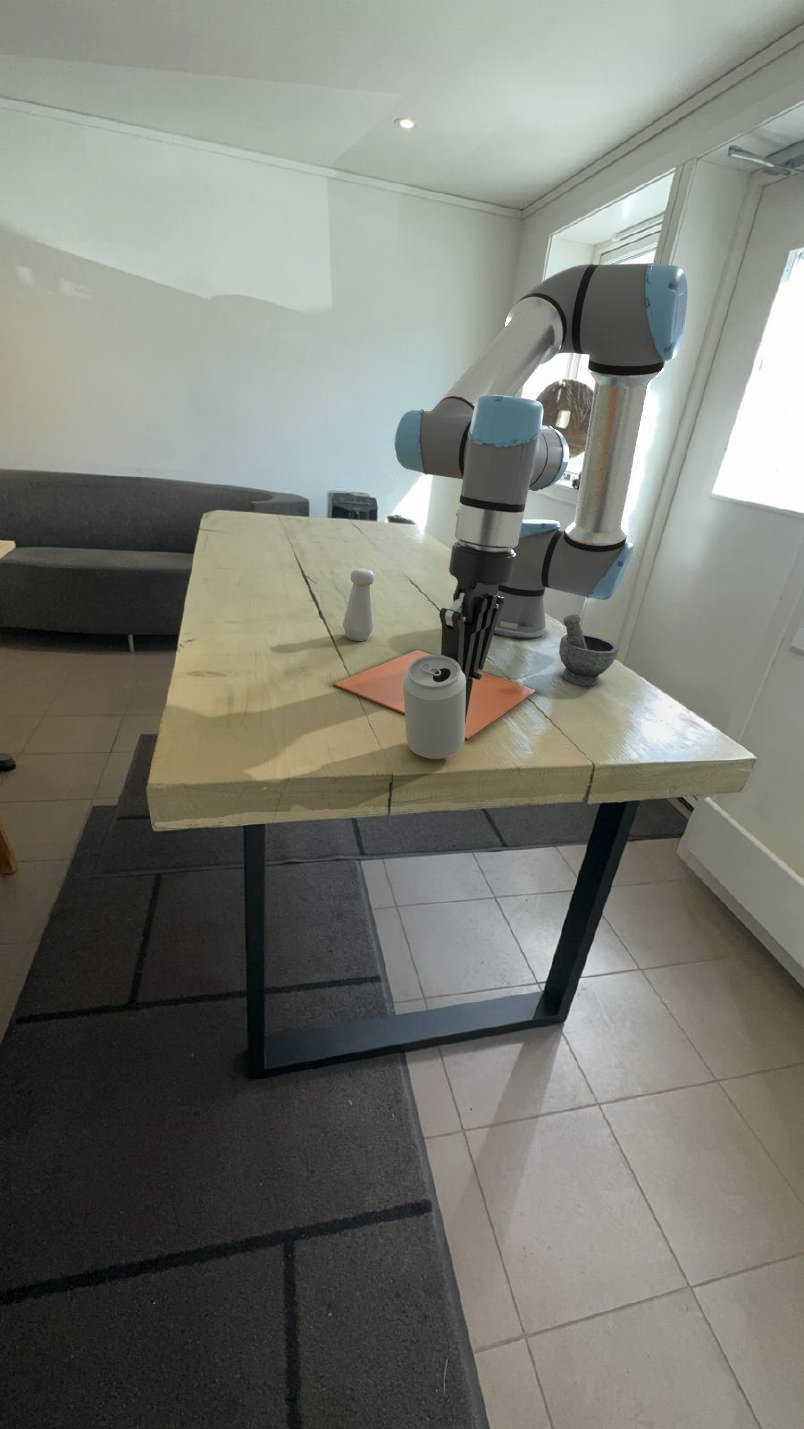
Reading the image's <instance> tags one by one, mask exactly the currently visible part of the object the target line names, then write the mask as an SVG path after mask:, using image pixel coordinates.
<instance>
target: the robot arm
mask: <svg viewBox="0 0 804 1429" xmlns="http://www.w3.org/2000/svg"><path fill="white" fill-rule="evenodd" d="M687 281H688V279H687V276H686V273H685V271H684V269H682V267H680V266H678V265H672V264H664V263H663V264H662V263H656V262H651V263H650V262H649V263H648V262H647V263H619V264H615V263H614V264H593V263H589V264H587V263H586V264H585V263H584V264H579V265H574V266H571V267H568V268H565V269H563V270H561V271H559V272H556V273H554V274H553V275H551V276H549V277H547V278H546V279H544V280H542V281H541V282H539V283H538V284H537V285H535V286H533V287H532V288H531V289H530V290H528V291H527V292H526V293H525V294H524V295H523V296H522V297H521V298H520V299H519V300H518V301H517V302H516V303H515V304H514V305H513V307H512V308H511V309H510V310H509V312H508V314H507V317H506V319H505V324H504V327H503V328H502V330H501V331H500V332H499V333H498V334H497V335H496V336H495V337H494V339H493V340H492V341H491V342H490V343H489V345H488V346H486V347H485V349H484V350H483V351H482V352H481V354H480V355H479V356H478V357H477V358H476V359H475V360H474V361H473V363H472V364H471V365H470V366H469V367H468V368H467V370H466V371H464V373H463V374H462V375H461V376H460V377H459V379H458V380H457V381H456V382H455V383H454V385H452V387H451V388H450V389H449V390H448V391H447V392H446V394H444V396H443V397H442V398H441V399H440V400H439V402H437V404H436V405H435V406H434V407H433V408H432V410H425V409H424V408H422V409H420V410H418V409H417V410H415V409H412V410H408V411H406V412H405V413H403V415H402V416H401V417H400V419H399V420H398V423H397V426H396V429H395V433H394V450H395V454H396V455H395V456H396V459H397V462H398V464H400V466H402V468H404V469H405V470H409V471H414V472H418V473H422V474H424V475H425V476H427V475H431V476H436V477H437V476H438V477H444V478H452V479H457V480H462V483H461V490H460V496H459V505H458V509H457V510H456V511H455V517H456V522H455V530H454V537H455V538H456V540H458V541H455V543H454V544H452V547H451V552H450V560H449V565H448V571H449V574H450V575H451V576H452V577H454V578H455V579H456V581H457V582H456V583H457V584H456V587H455V589H454V592H453V595H452V599H453V603H452V604H451V606H449V608H446V607H442V608H440V611H439V619H440V624H441V645H440V646H441V649H440V652H441V653H440V655H442V656H446V657H449V658H452V659H453V660H455V661H456V662H457V663H458V664H459V666H460V668H461V670H462V672H463V673H464V675H465V677H466V702H465V722H466V717H467V711H468V706H469V701H470V695H471V690H472V684H473V680H472V679H473V678H474V679H477V680H480V679H481V677H482V674H479V673H477V671H482V670H483V669H484V668H485V664H486V660H487V657H488V654H489V651H490V647H491V644H492V640H493V636H494V634H495V635H498V636H501V637H507V638H513V639H535V638H536V639H537V638H540V637H542V636H544V634H545V630H546V625H547V624H546V613H545V612H546V611H545V603H544V602H545V601H544V597H545V592H546V588H547V589H550V590H555V591H559V592H564V593H567V594H572V595H576V596H581V597H585V598H586V599H595V600H600V601H607V600H610V599H611V598H612V597H613V596H614V594H615V593H616V592H617V589H618V588H619V586H620V584H621V582H622V580H623V578H624V575H625V573H626V571H627V569H628V567H629V563H630V561H631V560H632V559H631V558H632V557H633V556H632V555H633V553H634V549H635V547H634V544H633V543H631V542H630V541H627V537H628V530H627V528H626V527H625V526H624V524H623V523H622V520H623V517H624V516H623V515H624V511H625V506H626V501H627V496H628V492H629V487H630V482H631V477H632V472H633V469H634V468H633V467H634V462H635V458H636V453H637V448H638V444H639V438H640V434H641V429H642V425H643V419H644V414H645V410H646V405H647V400H648V395H649V391H650V386H651V383H652V381H653V380H655V378H657V377H658V376H659V375H660V374H661V373H663V371H664V367H665V363H666V361H669V360H673V359H674V358H675V357H676V356H677V354H678V353H679V350H680V347H681V343H682V336H683V335H684V331H685V324H686V318H687V310H688V282H687ZM558 354H579V355H588V364H587V371H588V373H589V374H590V375H591V377H592V378H593V379H594V388H593V395H592V401H591V408H590V414H589V420H588V428H587V434H586V440H585V448H584V456H583V460H582V467H581V474H580V480H579V486H578V492H577V493H578V494H577V500H576V506H575V507H576V508H575V512H574V519H572V520H571V521H569V522H568V523H567V524H566V525H565V526H564V530H561V523H560V522H559V521H558V520H552V519H550V520H549V519H526V518H525V519H524V516H525V509H526V503H527V499H528V495H529V491H532V492H538V491H539V490H540V491H542V490H544V489H547V488H549V487H551V486H553V485H554V484H556V483H557V482H558V481H559V480H560V479H561V478H562V477H563V476H564V474H565V472H566V471H567V468H568V465H569V463H570V449H569V448H570V447H569V445H568V442H567V439H566V437H565V436H564V435H563V434H562V433H561V432H560V431H558V430H557V429H555V428H553V427H552V425H549V424H543V417H544V406H543V404H542V403H541V402H540V401H538V400H535V399H530V398H524V397H518V396H516V395H517V394H518V393H519V392H520V390H521V389H522V388H523V387H524V385H525V384H526V383H527V382H528V380H529V379H530V377H531V376H533V374H534V373H535V371H536V370H537V369H538V368H539V367H540V365H543V364H547V363H548V362H550V361H551V360H552V359H553V358H554V357H556V355H558Z"/></svg>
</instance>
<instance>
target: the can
mask: <svg viewBox="0 0 804 1429" xmlns="http://www.w3.org/2000/svg"><path fill="white" fill-rule="evenodd" d="M403 693H404V708H405V714H404V722H405V735H406V736H405V737H406V738H405V739H406V744H407V746H408V748H409V749H410V750H411V751H412V752H413V753H414V754H416V755H417V756H420V757H421V758H426V759H429V760H440V759H444V758H448V757H451V756H453V755H455V754H456V753H458V752H459V751H460V750H461V749H462V748H463V747H464V746H463V745H464V743H465V741H466V739H465V702H466V677H465V675H464V673H463V672H462V670H461V668H460V666H459V664H458V663H457V662H456V661H455V660H453V659H452V658H449V657H446V656H442V655H441V654H432V655H428V656H423V657H420V658H418V659H416V660H415V661H413V662H412V663H411V664H410V666H409V667H408V671H407V672H406V674H405V676H404V677H403Z"/></svg>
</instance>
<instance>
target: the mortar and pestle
mask: <svg viewBox="0 0 804 1429" xmlns="http://www.w3.org/2000/svg"><path fill="white" fill-rule="evenodd" d="M563 625H564V626H565V629H566V634H565V635H564V636H562V637H561V638H560V642H559V651H558V654H559V657H560V661H561V663H562V664H563V665H564V667H565V668H564V670H563V673H562V677H563V678H564V680H566V681H568V682H571V683H573V684H575V685H579V686H586V687H587V686H588V687H589V686H595V685H597V684H598V682H599V676H600V675H603V673H605V672H606V671H607V670H608V669H609V668H610V667H611V666H612V665H613V663H614V661H615V659H616V658H617V654H618V651H619V648H618V647H617V646H616V645H615V644H614V642H611V641H608V640H606V639H603V638H601V637H598V636H594V635H593V636H592V635H588V634H584V633H583V629H582V626H581V617H580V615H578V614H574V613H573V614H569V615H567V616H565V617H564V618H563Z"/></svg>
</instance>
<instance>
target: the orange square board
mask: <svg viewBox="0 0 804 1429" xmlns="http://www.w3.org/2000/svg"><path fill="white" fill-rule="evenodd" d="M428 655H433V654H431V653H429V652H426V651H423V650H420V649H416V650H413V651H411V652H409V653H406V654H403V655H401V656H399V657H396V658H393V659H391V660H388V661H387V662H383V663H381V664H379V665H377V666H374V667H371V668H369V669H367V670H363V671H362V672H358V673H356V674H354V675H352V676H349V677H347V678H344V679H342V680H339V681H336V682H335V683H333V686H334V687H336V688H339V689H342V690H344V691H347V692H350V693H352V694H354V695H357V696H359V697H362V698H364V699H367V700H368V701H372V702H373V703H376V704H378V705H380V706H383V707H385V708H388V709H391V710H393V711H396V712H398V713H400V714H403V715H405V708H404V693H403V677H404V676H405V674H406V672H407V671H408V667H409V666H410V664H411V663H412V662H413V661H415V660H416V659H418V658H420V657H423V656H428ZM477 673H479V674H482V677H481V679H480V680H477V679H474V678H473V679H472V680H473V684H472V690H471V695H470V701H469V706H468V711H467V717H466V722H465V741H468V740H470V739H471V738H473V737H474V736H475V735H477V734H479V733H480V732H481V731H483V730H484V729H485V728H487V727H488V726H490V725H491V724H493V723H494V722H496V721H497V720H499V718H501V717H503V716H504V715H505V714H507V713H508V712H509V711H511V710H512V709H514V708H515V707H516V706H518V705H519V704H521V703H522V702H524V701H525V700H526V699H528V698H530V697H531V696H533V695H534V694H535V693H536V692H537V690H536V689H534V688H530V687H528V686H525V685H521V684H519V683H517V682H513V681H510V680H507V679H504V678H501V677H499V676H495V675H493V674H490V673H487V672H485V671H482V670H478V671H477Z"/></svg>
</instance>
